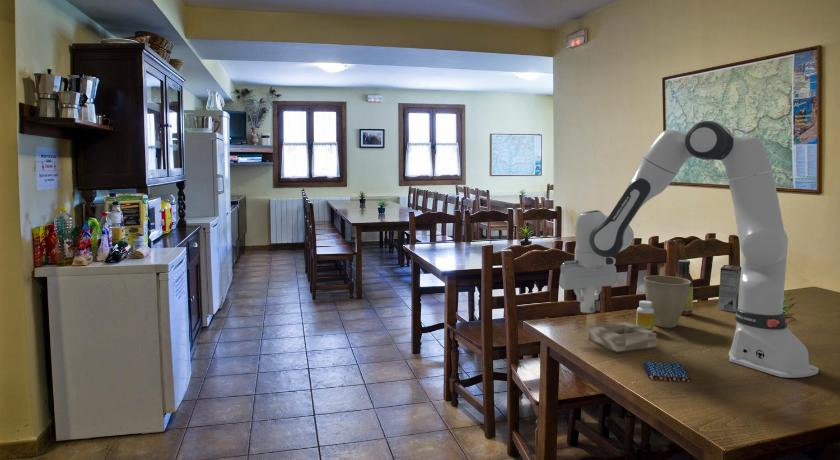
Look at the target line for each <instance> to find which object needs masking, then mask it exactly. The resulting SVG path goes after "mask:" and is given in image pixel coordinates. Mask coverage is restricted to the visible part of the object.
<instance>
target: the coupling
mask: <svg viewBox="0 0 840 460" xmlns="http://www.w3.org/2000/svg"><path fill="white" fill-rule="evenodd" d="M595 290H596V289H595V287H594V286H588V287H587V288H581V292H580V294H581V296H584V299H583V300H584V301H582V302H580V303H579V308H580V312H581V313H584V314H593V313H596V307H595V301H596V300H595Z"/></svg>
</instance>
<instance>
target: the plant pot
mask: <svg viewBox="0 0 840 460" xmlns="http://www.w3.org/2000/svg"><path fill="white" fill-rule="evenodd" d="M643 283H644V293H645V298H646V300H645V301H650V302H652V307H651V308H652V309H653V310H654V322H653V326H656V327H660V328H675V327H676V326H677V324H678V322H679V320H680V318H681V314H682V311H683V309H684V306H685V303H686V300H687V296H688V292H689V288H690V283H691V281H689V280H687V279H684V278H679V277H676V276H671V275H670V276H669V275H648V276H644V277H643Z"/></svg>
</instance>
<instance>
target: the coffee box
mask: <svg viewBox="0 0 840 460" xmlns="http://www.w3.org/2000/svg"><path fill="white" fill-rule="evenodd" d="M719 274H720V275H719V289H718V290H719V292H718V307H717V308H718V310H720V311H725V312H726V311H727V312H733V313H734V312H735V313H736V308H737V307H738V300H739V284H740V275H741V266H740V265H737V266H736V265H733V264H732V265H729V264H724V265H722V267H721V268H720V273H719Z"/></svg>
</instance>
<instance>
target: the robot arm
mask: <svg viewBox="0 0 840 460" xmlns="http://www.w3.org/2000/svg"><path fill="white" fill-rule="evenodd" d="M693 157H694V158H696V159H700V160H704V161H713V160H714V161H721V162H722V164H723V165H724V168H725V171H726V176H727V181H728V186H729V189H730V194H731V199H732V203H733V209H734V216H735V225H736V228H737V229H736V230H737V235H738V240H739V241H738V242H739V247H740V251H741V253H742V259H741V266H740V267H741V275H740V284H739V300H738V307H737V308H736V312H735V319H734V320H735V321H736V325H735V331H734V336H733V340H732V343H731V346H730V349H729V352H728V356H729V362H731V363H733V364H737V365H740V366H744V367H746V368H749V369H753V370H757V371H760V372H763V373H767V374H768V375H769V374H770V375H773V376H776V377H780V378H789V379H790V378H794V379H796V378H806V377H811V376H815V375H817V374H819V367H817V366H815V365H813V364H810V357H809V356H810V355H809V351H808V348H807V346H805V344H804V343H802V342H801V340H800V339H799V338H797V337H796V336H795V335H794V333H793V332H792V331H791V330H790V329H789V327H788V324H791V320H792V318H786V315H785V313H784V295H785V285H786V284H785V283H786V282H785V281H786V273H787V272H786V270H787V258H788V246H789V245H788V244H789V239H788V235H787V232H786V230H785V228H784V222H783V217H782V213H781V212H782V211H781V205H780V202H779V196H778V192H777V188H776V182H775V177H774V173H773V170H772V169H773V168H772V164H771V162H770V158H769V155H768V153H767V150H766V148H765V146H764V144H763V141H761V139H759V138H757V137H754V136H750V135H749V136H747V135H746V136H740V137H734V136H733V135H732V132H731V131H730V129H729V128H728V127H726V126H725V125H724V124H722V123H720V122H718V121H714V120H703V121H699V122H696V123H695V124H693V125H692V126H690V128H689V129H688V131H687V132H682V131H679V130H676V129H666V130H664V131H662V132H660V133H659V135H658V136H657V137H656V138H655V140H654V141H653V142H652V143H651V144H650V146H649V147H648V149H647V150H646V151H645V153H644V155H643V157H642V158H641V159H640V162H639V163H638V165H637V167H636V169H635V171H634V173H633V175H632V177H631V180H630V182H629V183H628V185H627V187H626V189H625V191H624V192H623V194H622V196H620V198H619V200H617V203H616V204H615V206H614V207H613V209H612V210H611V212H610V214H609V215H606V214H604V213H603V212H602V211H601V210H598V209H596V210H589V211H584V212H581V213H579V214H578V215H577V216H576V221H575V231H574V238H575V247H574V260H566V261H564V262H562V263H561V265H560V274H559V280H558V281H559V282H558V284H559V285H558V286H559V287H560V289H562V290H565V291H570V290H573V292H574V294H575V295H576V301H577V302H580V303H581V302H582V301H584V300H583V299H584V296H581V288H587V287H588V286H594V287H595V300H594V301H598V300H599V298H600V297H599V295H600V294H601V292H602V289H603V288H602V287H609V286H615V285H616V284H617V281H618V280H617V279H618V278H617V274H618V273H617V267H616V265H615V264H616V263H617V261H616V260H617V259H616V258H615V257H614V256H616V255H617V254H619V253H621V252H622V251H624V250H626V249H627V248H628V247H630V246H631V245H632V244H633V241H634V230H633V229H632V227H631V226H630V224H631V222H632V221H633V220H634V218H635V217H636V215H637V213H638V212H639V211H640V209H641V208H642V207H643V206H644V205H645V204H646V203H647V202H648V201H650V200H652V199H653V198H655V197H656V196H658V195H660V194H662V193H663V192H664V191H665V190H666V188H668V187H669V185H670V184H671V183H672V182H673V181H674V179H675V178H676V176H677V174H678V172H679V171H680V169H681V168H682V166H683V165H684V164H685V162H686V161H688V160H689V159H690V158H691V159H692V158H693Z"/></svg>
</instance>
